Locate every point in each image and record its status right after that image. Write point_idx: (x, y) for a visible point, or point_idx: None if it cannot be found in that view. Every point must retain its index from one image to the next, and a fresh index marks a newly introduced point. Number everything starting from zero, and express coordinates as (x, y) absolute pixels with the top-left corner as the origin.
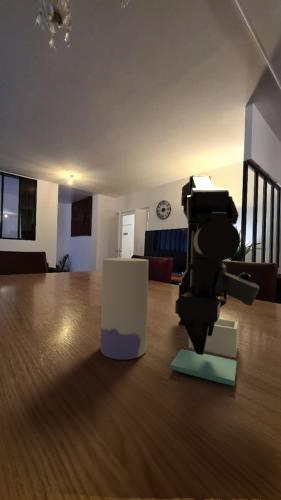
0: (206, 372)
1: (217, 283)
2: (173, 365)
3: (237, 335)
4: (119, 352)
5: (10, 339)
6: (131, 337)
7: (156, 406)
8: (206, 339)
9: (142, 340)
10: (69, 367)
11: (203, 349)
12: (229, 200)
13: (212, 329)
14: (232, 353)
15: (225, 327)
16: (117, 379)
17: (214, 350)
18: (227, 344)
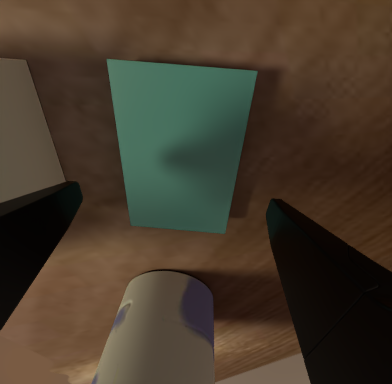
0: (233, 156)
1: None
2: (225, 227)
3: None
4: (211, 306)
5: (215, 379)
6: (199, 326)
7: (336, 219)
8: (308, 230)
9: (172, 302)
10: (257, 325)
11: (296, 210)
12: None
13: (58, 194)
14: (20, 75)
15: None
16: (270, 279)
17: (44, 139)
18: (1, 99)
